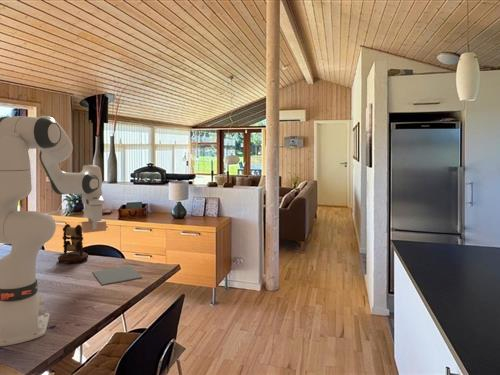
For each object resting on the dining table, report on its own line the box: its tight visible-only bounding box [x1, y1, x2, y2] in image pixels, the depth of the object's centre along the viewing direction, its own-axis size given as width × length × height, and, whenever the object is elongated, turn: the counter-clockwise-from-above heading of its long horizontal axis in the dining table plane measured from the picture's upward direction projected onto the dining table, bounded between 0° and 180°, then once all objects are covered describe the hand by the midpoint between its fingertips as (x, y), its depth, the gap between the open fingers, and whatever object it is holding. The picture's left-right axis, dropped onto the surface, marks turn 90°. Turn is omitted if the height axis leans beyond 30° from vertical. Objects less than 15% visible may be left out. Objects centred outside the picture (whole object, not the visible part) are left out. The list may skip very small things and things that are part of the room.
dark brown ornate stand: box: [57, 223, 89, 264], centre depth 192 cm, size 15×15×20 cm
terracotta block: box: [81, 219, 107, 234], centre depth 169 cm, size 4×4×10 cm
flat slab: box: [92, 265, 143, 286], centre depth 171 cm, size 20×18×1 cm
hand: (92, 227), depth 169 cm, fingers closed on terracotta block, 4 cm apart
